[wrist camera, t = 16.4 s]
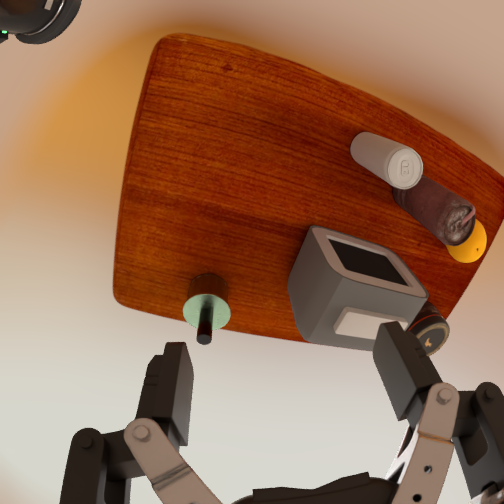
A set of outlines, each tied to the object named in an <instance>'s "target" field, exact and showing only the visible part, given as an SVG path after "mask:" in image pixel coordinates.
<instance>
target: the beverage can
mask: <svg viewBox="0 0 504 504" xmlns="http://www.w3.org/2000/svg"><path fill="white" fill-rule="evenodd" d="M350 151H351V155H352V157H353V159H354V160H355V161H356V162H357V163H359V164H360V165H362V166H363V167H365V168H366V169H368V170H369V171H371V172H372V173H374V174H375V175H377V176H379V177H380V178H382V179H383V180H384V181H386V182H387V183H389V184H390V185H392V186H394V187H396V188H400V189H409V188H411V187H413V186H415V185H416V184H417V183H418V181H419V180H420V178H421V175H422V172H423V163H422V160H421V158H420V156H419V154H418V153H417V152H415V151H414V150H413V149H412V148H410V147H408V146H405V145H403V144H400V143H397V142H395V141H392V140H390V139H387V138H384V137H381V136H379V135H376V134H373V133H370V132H362V133H360V134H358V135H357V136H356V137H355V138H354V140H353V141H352V144H351V148H350Z"/></svg>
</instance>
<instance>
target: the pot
mask: <svg viewBox="0 0 504 504" xmlns="http://www.w3.org/2000/svg"><path fill="white" fill-rule="evenodd" d="M202 292H209V293H214V294H217V295H219V296H221V297H222V298H224V299H225V300H226V301H227V303H228V287H227V284H226V282H225V281H224V280H223V279H222V278H220V277H219V276H217V275H214V274H202V275H199V276H197V277H196V278H194V279H193V281H192V282H191V284H190V288H189V292H188V297H187V299H188V298H189V297H191V296H192V295H194V294H197V293H202Z"/></svg>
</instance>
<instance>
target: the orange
mask: <svg viewBox="0 0 504 504" xmlns="http://www.w3.org/2000/svg"><path fill="white" fill-rule="evenodd" d="M446 247H447V249H448V251H449V253H450V255H451V256H452V257H453V258H455V259H456V260H457V261H459V262H464V263H469V262H473V261H475V260H477V259H478V258H479V257H480V256H481V255H482V254H483V252H484V250H485V247H486V233H485V229H484V227H483V226H482V224H481V223H480V222H479V221H478V220H477V219H476V222H475V227H474V230H473V232H472V234H471V236H470V237H469V238H468V239H467V240H466V241H465V242H464V243H463V244H461V245H459V246H450V245H446Z"/></svg>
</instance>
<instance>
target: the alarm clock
mask: <svg viewBox="0 0 504 504" xmlns="http://www.w3.org/2000/svg"><path fill="white" fill-rule="evenodd" d="M287 289H288V293H289V297H290V301H291V306H292V310H293V314H294V318H295V323H296V327H297V329H298V330H299V332H300V334H301V335H302V337H303V338H304V340H307V341H309V342H311V343H315V344H322V345H329V346H336V347H343V348H351V349H358V350H367V351H373V347H374V343H375V340H376V336H377V332H378V328H379V325H380V324H381V323H387V322H393V321H398V322H399V323H400V325H401V326H402V328H403V330H404V331H406V330H407V328H408V327H409V326H410V324H411V323H412V321H413V320H414V318H415V317H416V315H417V314H418V312H419V311H420V309H421V308H422V306H423V305H424V303H425V302H426V300H427V299H428V296H429V294H428V292H427V290H426V289H425V287H424V286H423V285H422V284H421V282H420V281H419V280H418V279H417V277H416V276H415V275H414V274H413V272H412V271H411V270H410V269H409V268H408V266H407V265H406V264H405V263H404V262H403V260H402V259H401V258H400V257H399V256H398V255H397V254H396V253H394V252H393V251H391V250H390V249H388V248H386V247H383V246H381V245H378V244H375V243H372V242H369V241H366V240H363V239H360V238H357V237H354V236H351V235H348V234H344V233H341V232H338V231H335V230H332V229H328V228H325V227H321V226H316V225H314V226H310V228H309V231H308V233H307V235H306V238H305V240H304V242H303V245H302V247H301V249H300V252H299V254H298V256H297V259H296V261H295V263H294V266H293V268H292V270H291V272H290V275H289V279H288V286H287Z"/></svg>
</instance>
